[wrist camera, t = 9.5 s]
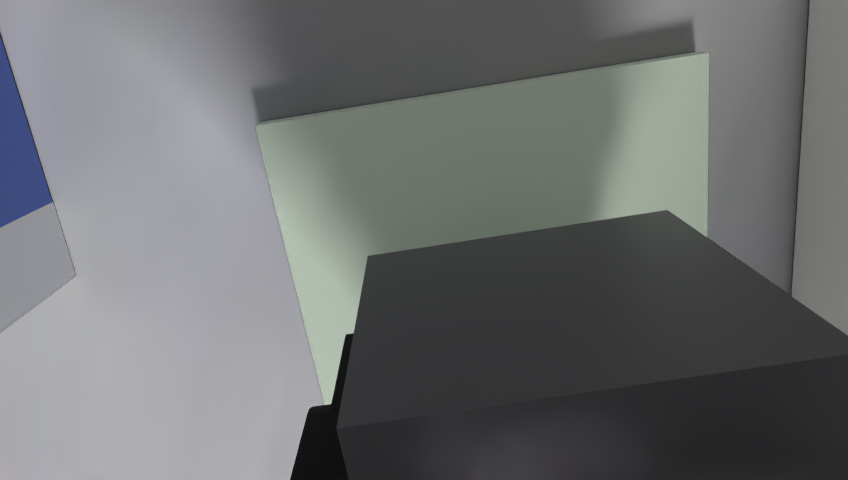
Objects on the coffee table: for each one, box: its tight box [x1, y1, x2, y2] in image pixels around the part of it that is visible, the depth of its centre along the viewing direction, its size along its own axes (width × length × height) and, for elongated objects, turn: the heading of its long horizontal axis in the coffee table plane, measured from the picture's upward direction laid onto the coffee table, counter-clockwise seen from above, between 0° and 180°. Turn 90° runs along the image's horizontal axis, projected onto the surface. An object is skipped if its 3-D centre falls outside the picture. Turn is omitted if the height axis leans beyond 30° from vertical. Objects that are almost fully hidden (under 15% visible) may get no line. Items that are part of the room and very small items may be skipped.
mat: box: [255, 52, 709, 405], centre depth 15 cm, size 10×10×1 cm
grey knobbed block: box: [336, 210, 848, 480], centre depth 10 cm, size 6×6×8 cm
